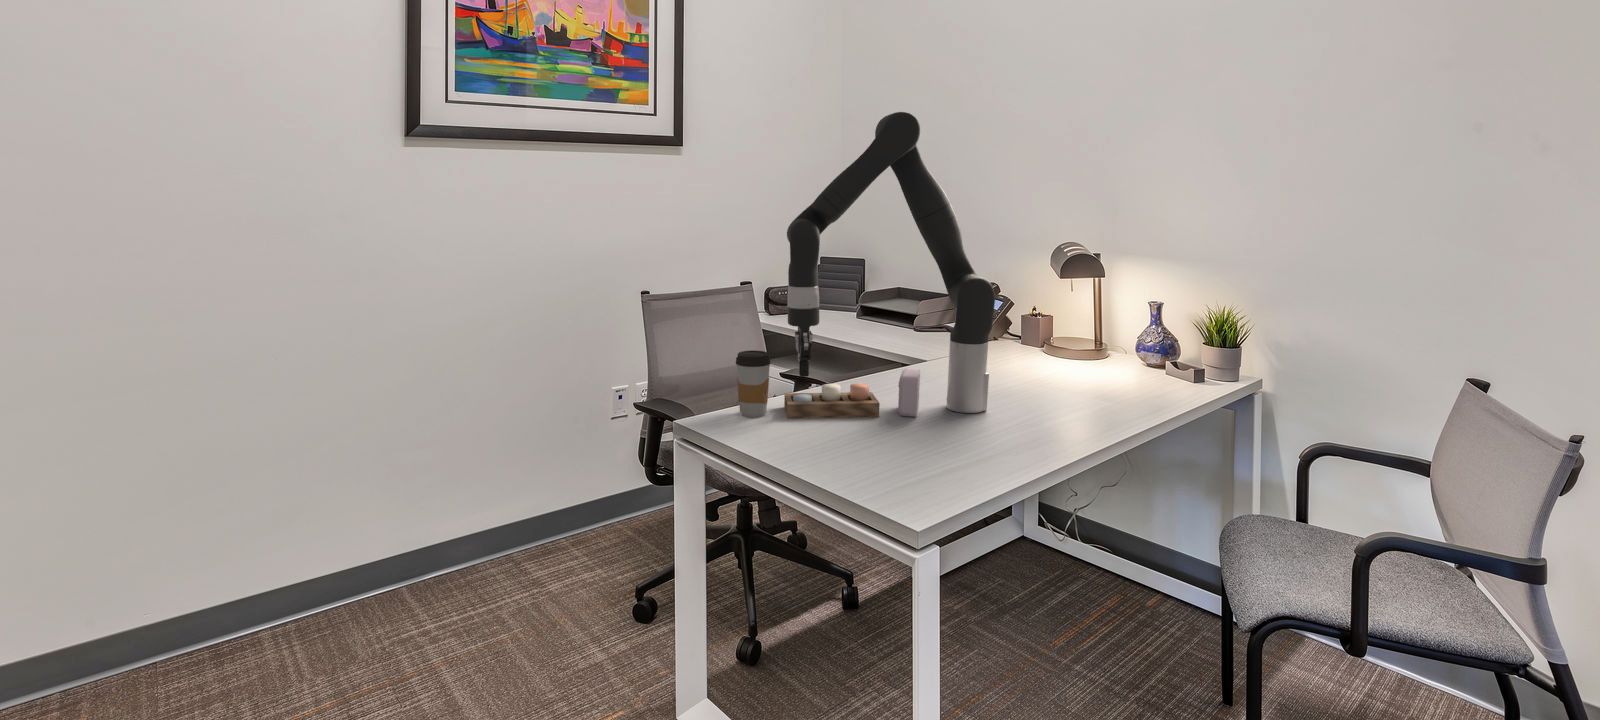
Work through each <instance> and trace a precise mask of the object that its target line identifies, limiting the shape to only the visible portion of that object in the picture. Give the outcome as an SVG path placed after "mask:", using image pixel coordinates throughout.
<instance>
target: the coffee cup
mask: <svg viewBox="0 0 1600 720" xmlns="http://www.w3.org/2000/svg"><path fill="white" fill-rule="evenodd" d="M736 356H737V357H735V365H736V383H737V395H738V396H737V397H738V403H739V413H740V416H742V417H744V418H750V419H758V418H762V417H765V416H766V413H767V412H768V411H767V409H768V408H767V407H768V399H769V384H770V367H771V366H770V365H771V358H770V355H769V353H768V351H764V350H755V349H754V350H744V351H742V350H741V351H740V352H738V353H737V355H736Z"/></svg>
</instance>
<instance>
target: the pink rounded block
mask: <svg viewBox="0 0 1600 720" xmlns="http://www.w3.org/2000/svg"><path fill="white" fill-rule="evenodd" d="M849 387H850V390H849V392H850V399H851V400H855V401H866V400H868V399H869V392H870V385H869V384H866V383H857V382H856V383H852V384H850V386H849Z"/></svg>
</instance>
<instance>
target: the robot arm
mask: <svg viewBox="0 0 1600 720" xmlns="http://www.w3.org/2000/svg"><path fill="white" fill-rule="evenodd" d="M875 127H876V128H875V130H874V131H875V132H874V133H875V134H874V136H875V137H874V139H873V140H872V142H871V143H870V144H869V146H868V147H867V148H866V149H865V150H864V152H863V153H861V155H860V156H858V158H857V159H856V160H854V161H853V162H852V163H851V164H850V165H849V166H847V167H845V169H844V170H843V171H841V173H839V174H838V175H837V176H836V177H835V178H834V179H833V180H832V181H831V182H830V183H829V184H828V185H827V186H826V187H825V188H824V190H822V191H821V193H820V194H819V195H818V196H816V199H814V201H813V202H812V203H811V204H810V205H809V206H807V207H806V208H805V209H804V210H803V211H802V212H801V213H800V214H799V215H798V216H796V217H795V218H794V220H793V221H791V223H790V224H789V226H788V227H787V230H786V238H787V240H788V242H789V256H790V257H789V259H790V262H789V265H788V272H787V273H788V274H787V275H788V290H787V324H788V325H789V326H792V327H797V331H794V338H795V349H796V351H797V352H796V355H797V360H798V375H799V376H800V377H802V378H805V377H809V376H810V373H809V372H810V369H809V368H810V366H809V365H810V361H811V359H812V357H811V355H812V346H813V344H812V343H813V338H814V337H813V336H814V335H813V332H812V331H811V330H810V328H811V327H815V326H818V325H819V324H820V292H819V267H818V266H819V264H818V263H819V257H820V256H819V255H820V248H821V247H820V246H821V245H820V243H821V241H820V240H821V239H820V237H821V235H822V233H823V232H824V231H825V230H826V229H827V228H828V227H829V226H830V225H832V224H834V223H835V222H836V221H838V220H839V219H840V218H841V217H842V216H843V215H844V214H845V213H846V212H847V210H849V208H851V206H852V205H853V204H854V203H855V202H856V201H857V200H858V199H859V198H860V196H862V194H863V193H864V192H866V190H867V189H868V188H869V187H870V186H871V184H872V183H873V182H875V181H876V179H877V178H878V177H879V176H880V175H881V174H882V173H884V171H886V170H887V169H888V168H889V167H890V168H891V170H892V171H893V174H894V175H895V178H896V179H897V181H898V184H899V186H900V189H901V191H902V194H903V197H904V199H905V202H906V204H907V206H908V209H909V211H910V214H911V216H912V217H913V218H912V219H913V220H914V223H915V225H916V226H917V229H918V231H919V233H920V235H921V236H922V238H923V241H924V242H925V243H924V244H926V246H927V248H928V250H929V252H930V254H931V256H932V257H933V259H934V261H935V263H936V264H937V266H938V267H937V268H938V269H939V271H940V275H941V278H942V280H943V283H944V287H945V289H946V292H947V294H948V298H949V300H950V302H951V304H952V306H954V307H955V308H956V311H955V314H956V315H955V322H954V326H953V327H952V328H951V329H950V332H949V333H950V336H949V351H948V352H949V353H948V368H947V369H948V371H947V372H948V373H947V388H946V389H947V390H946V391H947V392H946V405H945V406H946V408H947V410H950V411H953V412H957V413H964V414H975V413H981V412H987V411H988V410H987V409H988V397H989V394H988V393H989V380H990V379H989V378H990V373H989V372H988V371H987V366H988V352H989V351H988V350H989V340H990V339H989V336H990V334H991V332H992V328H993V324H994V323H993V322H994V313H995V302H996V301H995V300H996V299H995V297H996V296H995V289H994V287H993V285H992V283H991V282H990V281H989V280H988V279H987V278H985V277H981V276H978V275H977V273H976V271H975V269H974V267H973V266H972V264H971V263H970V260H969V258H968V257H967V254H966V251H965V249H964V245H963V237H962V232H961V226H960V223H959V220H958V216H957V215H956V212H955V210H954V208H953V206H952V204H951V200H950V199H949V197H948V196H947V193H946V192H945V190H944V189H943V188H942V186H941V185H940V183H939V182H938V181H937V179H936V177H934V176H933V174H932V173H931V172H930V170H929V169H928V168H927V166H926V164H925V162H924V160H923V157H922V155H921V153H920V151H919V147H918V145H917V144H918V143H919V141H920V138H921V132H922V131H921V125H920V122H919V121H918V119H917V118H916V117H915V116H914V115H913V114H911V113H910V112H906V111H905V112H904V111H897V112H893V113H890V114H888V115H885V116H883V117H882V118H881V119H880V120H879V121H878V123H877V125H876V126H875Z"/></svg>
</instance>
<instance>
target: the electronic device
mask: <svg viewBox="0 0 1600 720" xmlns="http://www.w3.org/2000/svg"><path fill="white" fill-rule="evenodd" d="M920 385H921V369H918V368H917V369H916V368H904V369H902V371H901V374H900V375H899V381H898V403H897V405H898V407H897V408H898V409H897V411H898V415H900V416H901V417H912V418H917V417H918V414H919V413H918V412H919V407H920V388H921V386H920Z"/></svg>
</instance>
